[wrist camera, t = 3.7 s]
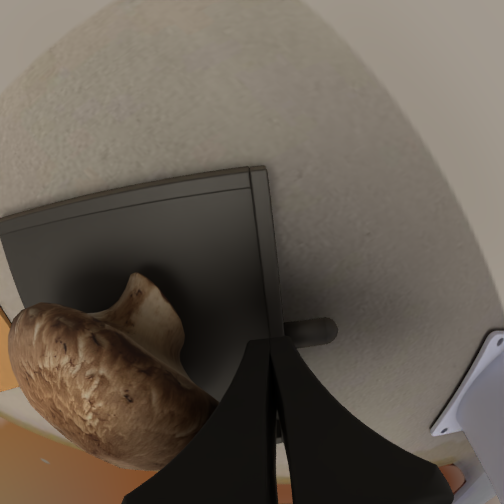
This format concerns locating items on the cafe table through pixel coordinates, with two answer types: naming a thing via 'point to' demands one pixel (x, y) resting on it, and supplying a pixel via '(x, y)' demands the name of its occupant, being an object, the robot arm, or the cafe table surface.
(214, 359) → the pan
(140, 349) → the mushroom
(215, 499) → the robot arm
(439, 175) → the cafe table surface
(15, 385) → the mat
